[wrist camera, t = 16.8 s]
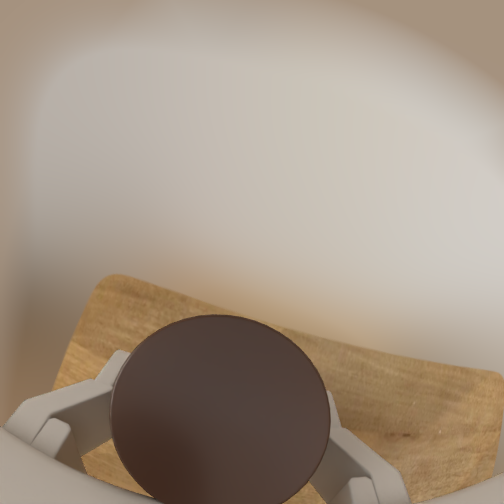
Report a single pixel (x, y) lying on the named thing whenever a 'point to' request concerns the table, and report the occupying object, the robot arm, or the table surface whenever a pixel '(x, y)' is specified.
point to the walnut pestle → (219, 413)
